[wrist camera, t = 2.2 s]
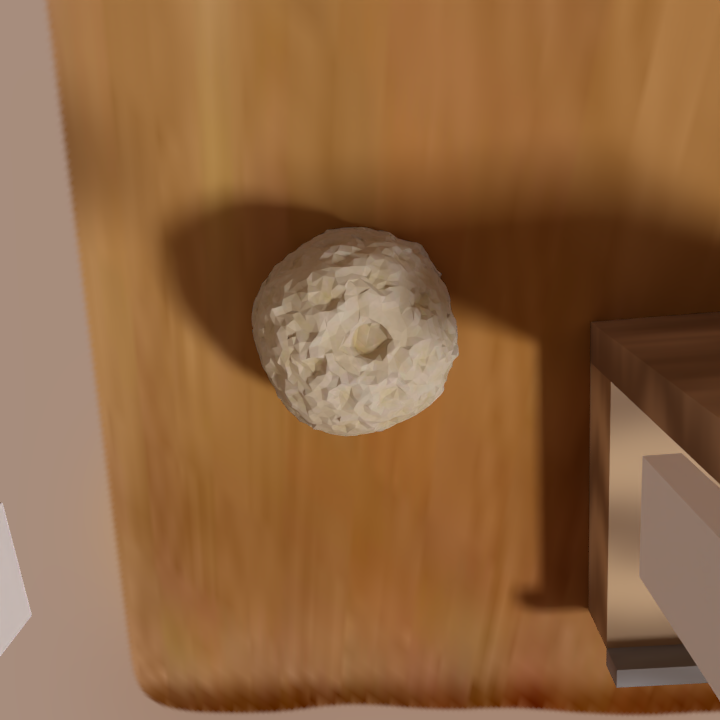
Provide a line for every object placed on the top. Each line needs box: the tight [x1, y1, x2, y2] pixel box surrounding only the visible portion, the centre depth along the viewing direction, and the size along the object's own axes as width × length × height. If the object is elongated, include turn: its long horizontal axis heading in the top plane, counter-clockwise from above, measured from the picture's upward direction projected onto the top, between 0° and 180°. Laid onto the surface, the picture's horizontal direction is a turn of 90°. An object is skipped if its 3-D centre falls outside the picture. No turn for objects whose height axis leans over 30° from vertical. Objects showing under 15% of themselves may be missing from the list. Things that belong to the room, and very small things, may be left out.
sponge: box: [252, 227, 459, 436], centre depth 29 cm, size 9×10×10 cm
